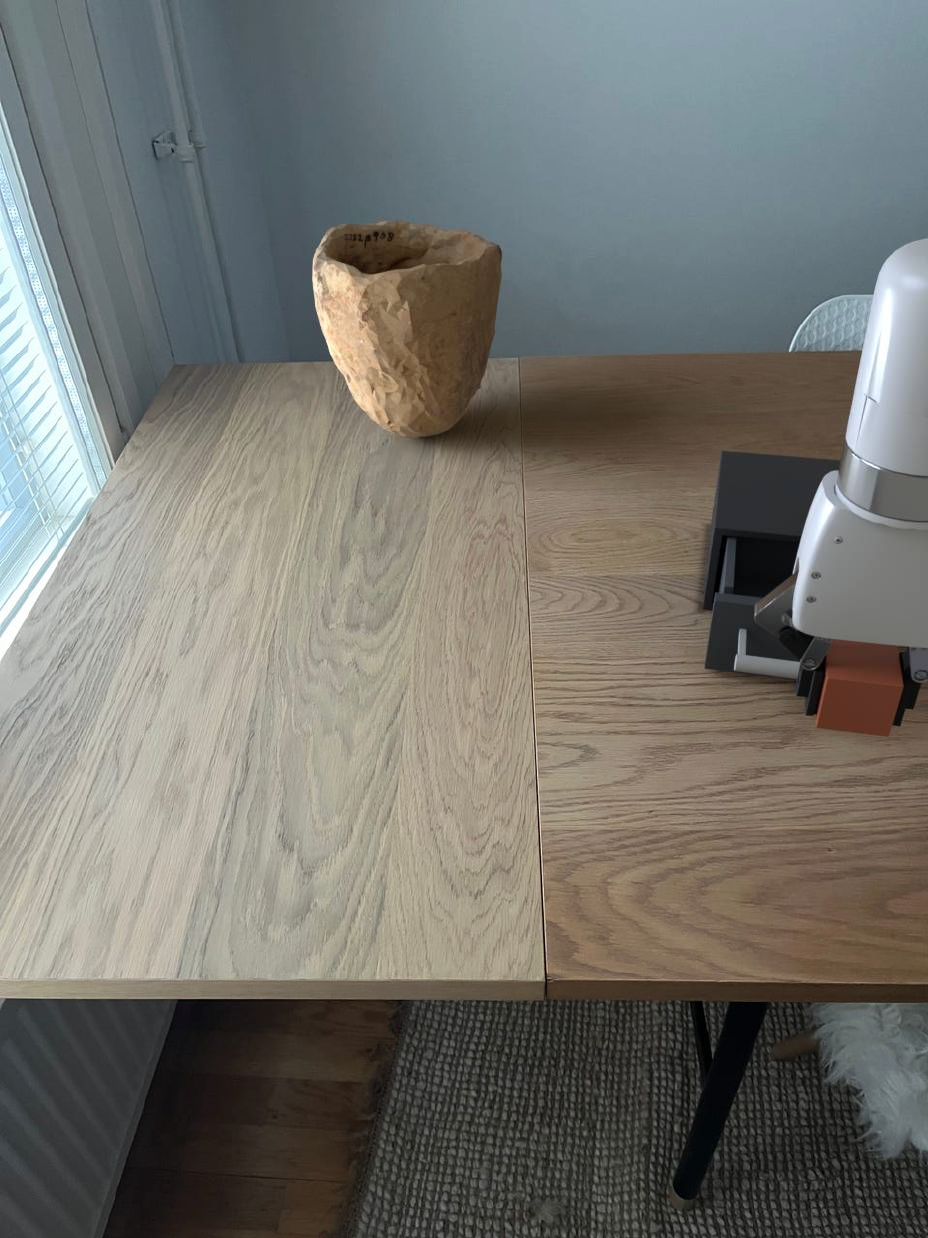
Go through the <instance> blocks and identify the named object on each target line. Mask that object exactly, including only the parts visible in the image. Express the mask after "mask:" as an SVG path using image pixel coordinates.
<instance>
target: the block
mask: <svg viewBox="0 0 928 1238" xmlns="http://www.w3.org/2000/svg"><path fill="white" fill-rule="evenodd" d="M899 652H900V651H899V646H897V645H886V644H876V643H866V642H857V641H847V640H839V639H835V640H834V642H833V644H832V645H831V647H830V649H829V650H828V652H827V654H826V655H825V657H824V661H825V679H824V683H823V688H822V692H821V697H820V701H819V706H818V710H817V714H816V715H815V714H814V716H815V718H814V719H815V728H816V729H821V730H829V731H836V732H837V731H838V732H846V733H854V734H863V735H870V736H878V737H879V736H880V737H890V734H891V731H892V728H893V726H892V724H893V721H894V717H895V714H896V711H897V707H898V704H899V701H900V697H901V694H902V690H903V687H904V685H903V678H902V671H901V665H900V658H899Z"/></svg>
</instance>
